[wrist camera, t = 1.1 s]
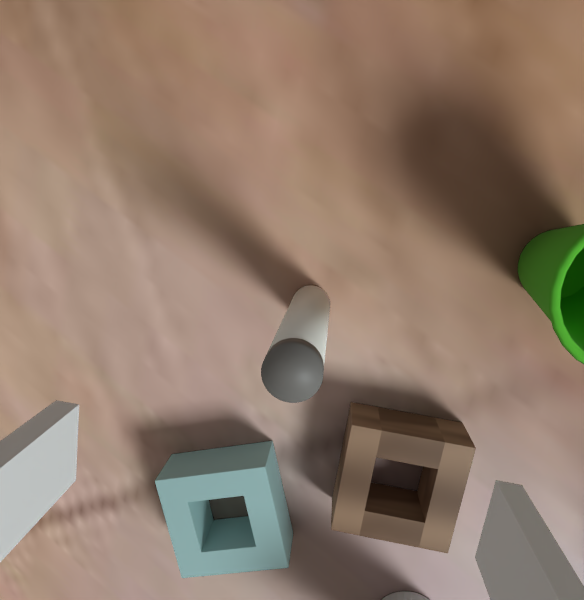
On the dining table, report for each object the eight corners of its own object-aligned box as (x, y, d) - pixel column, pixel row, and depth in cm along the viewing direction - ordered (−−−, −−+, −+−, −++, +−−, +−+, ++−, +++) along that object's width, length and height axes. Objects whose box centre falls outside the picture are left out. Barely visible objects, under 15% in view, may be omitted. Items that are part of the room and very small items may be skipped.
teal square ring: (171, 454, 42) (154, 480, 38) (272, 440, 41) (265, 466, 37) (196, 543, 44) (181, 578, 40) (293, 533, 43) (288, 567, 39)
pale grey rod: (295, 282, 38) (265, 338, 23) (333, 288, 38) (327, 350, 23) (289, 319, 38) (257, 396, 24) (326, 325, 38) (317, 407, 24)
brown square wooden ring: (350, 402, 39) (351, 425, 36) (462, 422, 39) (475, 448, 35) (332, 498, 41) (331, 529, 38) (437, 518, 41) (447, 553, 37)
